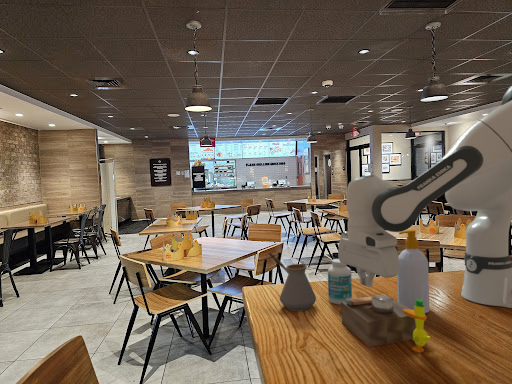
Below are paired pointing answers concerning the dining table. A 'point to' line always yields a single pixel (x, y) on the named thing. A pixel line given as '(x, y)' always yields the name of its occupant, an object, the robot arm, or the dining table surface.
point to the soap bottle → (412, 274)
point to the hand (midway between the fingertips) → (366, 285)
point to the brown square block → (378, 324)
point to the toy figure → (418, 325)
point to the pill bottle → (339, 282)
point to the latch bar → (359, 301)
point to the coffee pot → (296, 288)
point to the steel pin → (382, 305)
